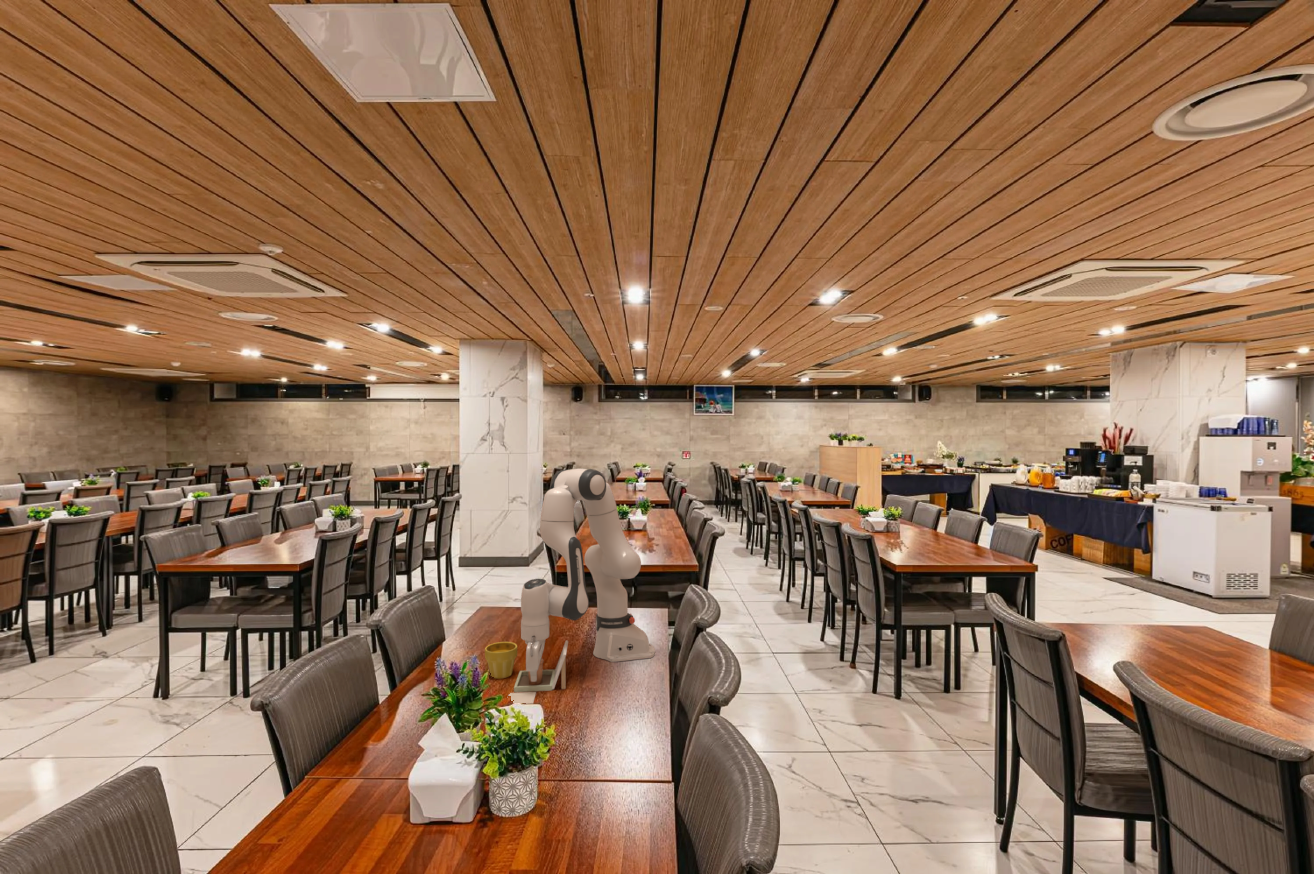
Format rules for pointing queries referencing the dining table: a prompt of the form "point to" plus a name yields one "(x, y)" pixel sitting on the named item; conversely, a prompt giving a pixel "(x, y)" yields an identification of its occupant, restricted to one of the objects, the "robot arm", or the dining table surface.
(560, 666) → the propped lid
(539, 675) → the terracotta pot
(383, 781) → the dining table surface
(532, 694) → the plate
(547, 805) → the dining table surface
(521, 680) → the shallow square tray
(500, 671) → the plant pot
